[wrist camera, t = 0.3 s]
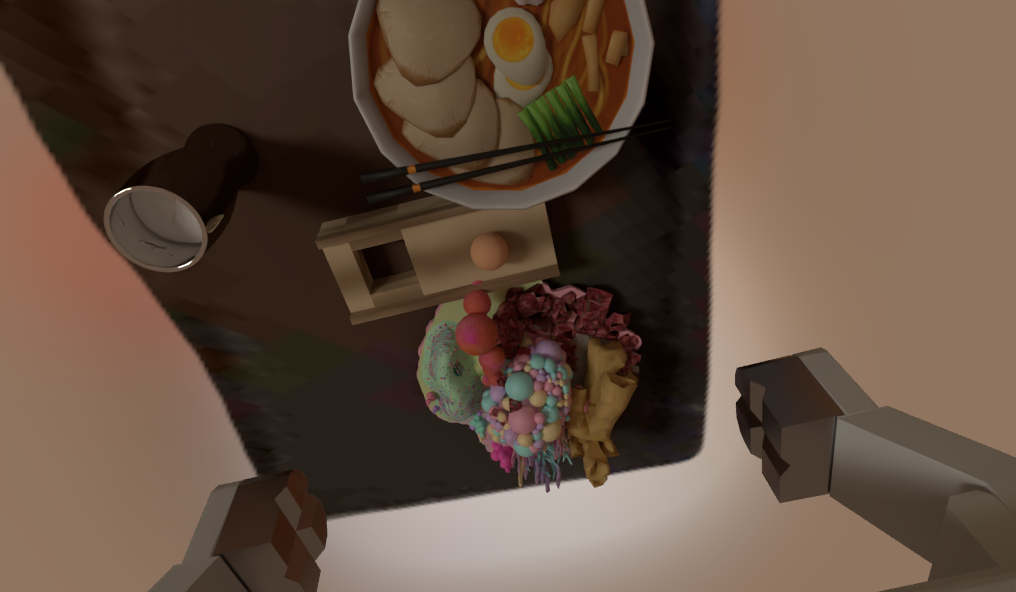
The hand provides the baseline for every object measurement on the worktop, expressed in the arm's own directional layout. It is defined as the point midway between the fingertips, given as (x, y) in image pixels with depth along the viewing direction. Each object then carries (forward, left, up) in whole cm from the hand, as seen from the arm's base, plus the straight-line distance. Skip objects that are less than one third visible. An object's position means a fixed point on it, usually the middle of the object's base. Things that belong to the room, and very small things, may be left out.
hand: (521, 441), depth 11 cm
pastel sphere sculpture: (+36, -2, -45) cm, 57 cm away
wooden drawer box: (+18, -7, -47) cm, 51 cm away
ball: (+18, -2, -42) cm, 46 cm away
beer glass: (+5, -23, -47) cm, 53 cm away
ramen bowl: (+2, +3, -47) cm, 47 cm away
